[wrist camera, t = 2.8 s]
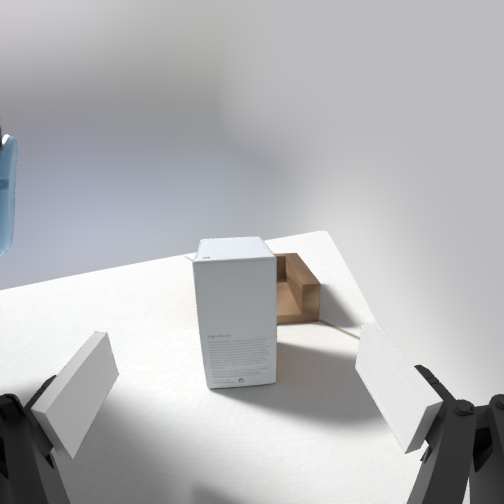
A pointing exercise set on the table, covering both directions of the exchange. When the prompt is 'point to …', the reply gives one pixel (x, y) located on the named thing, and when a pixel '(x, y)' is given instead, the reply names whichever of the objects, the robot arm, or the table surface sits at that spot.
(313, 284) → the rack
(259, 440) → the table surface
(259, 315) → the small box
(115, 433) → the table surface
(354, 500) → the table surface
